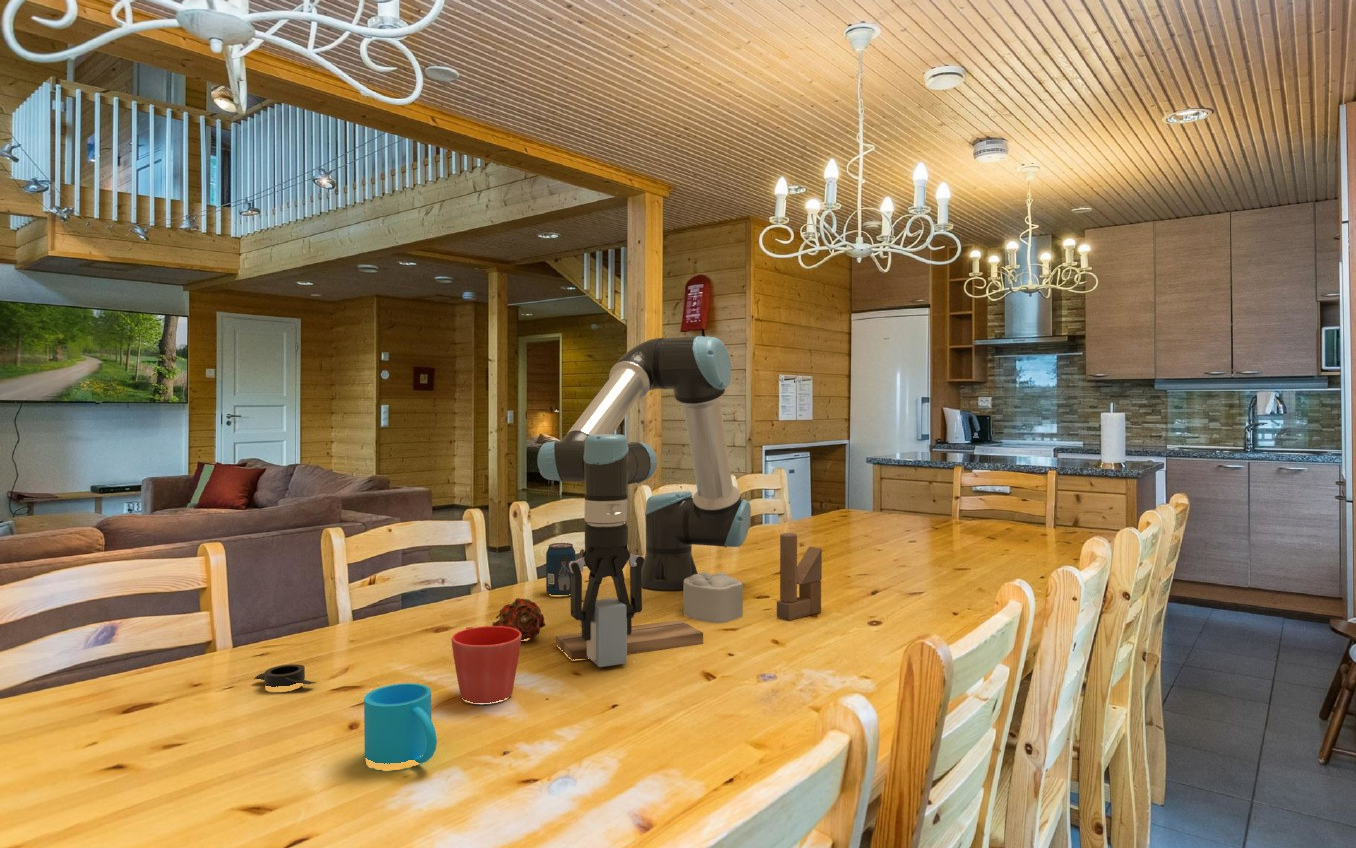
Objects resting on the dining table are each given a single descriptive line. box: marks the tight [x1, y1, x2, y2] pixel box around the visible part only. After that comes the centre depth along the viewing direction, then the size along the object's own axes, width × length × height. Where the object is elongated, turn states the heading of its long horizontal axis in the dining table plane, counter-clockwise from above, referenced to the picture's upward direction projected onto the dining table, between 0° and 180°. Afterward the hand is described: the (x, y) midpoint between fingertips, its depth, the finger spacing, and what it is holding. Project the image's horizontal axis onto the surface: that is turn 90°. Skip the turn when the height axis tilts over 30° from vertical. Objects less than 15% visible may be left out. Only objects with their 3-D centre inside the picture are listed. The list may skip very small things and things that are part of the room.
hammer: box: [579, 597, 628, 668], centre depth 142 cm, size 15×5×10 cm, turn 26°
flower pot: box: [451, 625, 522, 703], centre depth 123 cm, size 11×11×10 cm
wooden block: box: [776, 532, 823, 621], centre depth 170 cm, size 4×11×18 cm, turn 130°
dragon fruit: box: [491, 597, 546, 640], centre depth 153 cm, size 8×8×12 cm
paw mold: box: [682, 571, 744, 624], centre depth 171 cm, size 10×13×9 cm
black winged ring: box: [253, 663, 317, 687], centre depth 127 cm, size 8×10×3 cm
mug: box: [363, 682, 438, 764], centre depth 100 cm, size 12×8×8 cm
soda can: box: [545, 542, 576, 595], centre depth 189 cm, size 7×7×12 cm
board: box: [555, 619, 704, 660], centre depth 149 cm, size 10×26×2 cm, turn 116°
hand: (606, 655), depth 138 cm, fingers closed on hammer, 5 cm apart
